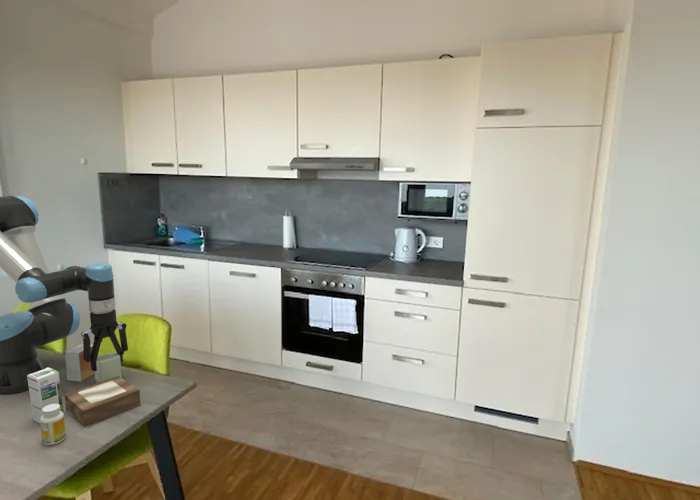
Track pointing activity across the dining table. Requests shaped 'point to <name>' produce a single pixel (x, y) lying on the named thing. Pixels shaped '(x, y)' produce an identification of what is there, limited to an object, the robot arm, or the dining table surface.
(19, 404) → the dining table surface
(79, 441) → the dining table surface
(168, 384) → the dining table surface
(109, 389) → the walnut base
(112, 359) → the sage block
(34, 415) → the syrup box
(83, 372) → the small box
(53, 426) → the supplement bottle
